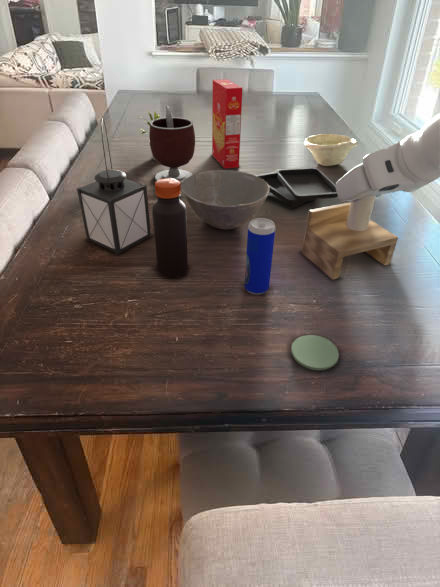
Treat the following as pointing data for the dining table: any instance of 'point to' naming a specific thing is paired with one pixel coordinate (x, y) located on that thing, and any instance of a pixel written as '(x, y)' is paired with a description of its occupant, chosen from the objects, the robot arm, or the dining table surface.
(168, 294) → the dining table surface
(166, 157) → the mate gourd
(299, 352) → the coaster
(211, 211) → the ceramic bowl
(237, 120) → the food packaging
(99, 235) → the lantern
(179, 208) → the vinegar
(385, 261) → the wooden stand
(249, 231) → the beverage can
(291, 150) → the dining table surface
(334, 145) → the bowl
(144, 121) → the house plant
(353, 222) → the cylinder
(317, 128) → the dining table surface
